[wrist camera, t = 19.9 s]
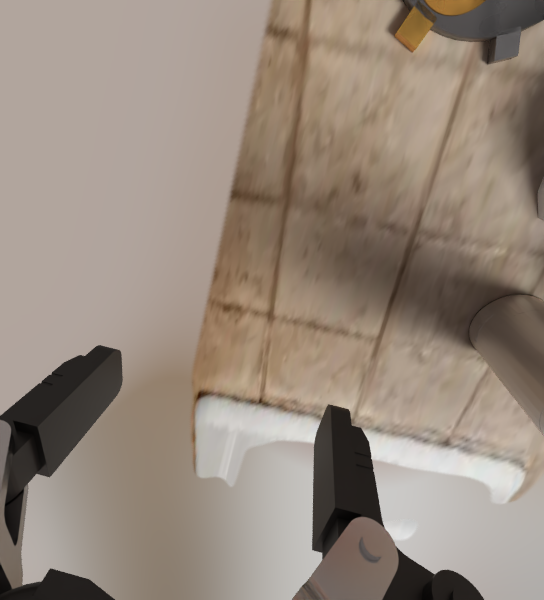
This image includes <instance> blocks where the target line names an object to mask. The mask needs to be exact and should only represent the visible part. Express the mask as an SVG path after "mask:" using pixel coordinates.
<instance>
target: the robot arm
mask: <svg viewBox="0 0 544 600" xmlns="http://www.w3.org/2000/svg"><path fill="white" fill-rule="evenodd" d="M469 337H470V340H471V343H472V344H473V346H474V347H475V348H476V350H477V351H478V352H479V354H480V355H481V356H482V357H483V359H484V360H485V361H486V363H487V364H488V365H489V367H490V368H491V369H492V371H493V372H494V373H495V374H496V376H497V377H498V378H499V380H500V381H501V382H502V383H503V385H504V386H505V387H506V389H507V390H508V391H509V392H510V394H511V395H512V396H513V397H514V399H515V400H516V401H517V403H518V404H519V405H520V406H521V408H522V409H523V410H524V412H525V413H526V414H527V415H528V417H529V418H530V419H531V420H532V422H533V423H534V424H535V426H536V427H537V428H538V429H539V431H540V432H541V433H542V435H543V436H544V301H543V300H541V299H539V298H537V297H534V296H530V295H511V296H506V297H503V298H500V299H497V300H495V301H493V302H491V303H490V304H488V305H486V306H485V307H484V308H483V309H481V310H480V311H479V312H478V313H477V315H476V316H475V317H474V319H473V321H472V323H471V325H470V330H469ZM121 385H122V358H121V352H120V350H117V349H113V348H109V347H105V346H101V345H99V346H96V347H95V348H94V349H93V350H92V351H90V352H89V353H88V354H87V355H86V356H82V355H79V356H77V357H75V358H73V359H71V360H68V361H66V362H64V363H63V364H62V365H61V366H60V367H58V368H57V369H56V370H55V371H53V372H52V375H49V376H47V377H46V378H45V379H44V380H43V381H42V383H41V384H40V383H39V384H38V385H37V386H35V387H34V388H33V389H32V390H31V391H30V392H28V393H27V394H26V395H25V396H24V397H22V398H21V399H20V400H19V401H18V402H16V403H15V404H14V405H13V406H12V407H10V408H9V409H8V410H7V411H6V412H4V413H3V414H2V415H1V416H0V600H115V599H113V598H112V597H111V596H110V595H108V594H107V593H106V592H105V591H103V590H102V589H101V588H99V587H98V586H97V585H96V584H94V583H93V582H92V581H91V580H89V579H86V578H82V577H79V576H75V575H72V574H68V573H65V572H61V571H58V570H54V569H50V570H49V571H48V573H47V574H46V576H45V578H44V579H43V581H42V582H36V583H31V584H26V585H23V586H22V581H23V579H22V577H23V571H22V559H21V550H22V539H23V531H24V521H25V513H26V503H27V495H28V483H29V482H30V480H31V479H32V478H33V477H34V476H35V475H36V474H40V475H43V476H47V477H50V476H51V475H52V474H53V473H54V472H55V470H56V469H57V468H58V467H59V466H60V464H61V463H62V462H63V461H64V459H65V458H66V457H67V456H68V455H69V453H70V452H71V451H72V450H73V448H74V447H75V446H76V445H77V444H78V442H79V441H80V440H81V439H82V438H83V436H84V435H85V434H86V433H87V431H88V430H89V429H90V428H91V427H92V425H93V424H94V423H95V422H96V420H97V419H98V418H99V417H100V416H101V414H102V413H103V412H104V411H105V410H106V408H107V407H108V406H109V404H110V403H111V402H112V401H113V399H114V398H115V397H116V396H117V394H118V393H119V391H120V388H121ZM313 481H314V482H313V539H312V550H314V551H318V552H322V555H323V557H322V559H323V560H322V562H321V563H320V564H319V566H318V567H317V568H316V570H315V571H314V573H313V574H312V576H311V577H310V578H309V579H308V581H307V582H306V583H305V584H304V585H303V586H302V587H301V588H300V590H299V591H298V592H297V593H296V595H295V596H294V597H293V599H292V600H484V599H483V597H482V596H481V594H480V593H479V591H478V590H477V589H476V588H475V587H474V586H473V585H472V584H471V583H470V582H469V581H468V580H467V579H466V578H464V577H463V576H462V575H460V574H458V573H456V572H454V571H450V570H441V571H439V572H438V573H436V574H433V573H431V572H430V571H428V570H427V569H425V568H424V567H422V566H421V565H419V564H417V563H416V562H414V561H413V560H411V559H410V558H408V557H407V556H406V555H404V554H403V553H402V552H401V551H400V550H399V549H398V548H397V547H396V546H395V543H394V541H393V539H392V538H391V536H390V534H389V533H388V532H387V531H386V529H385V528H384V525H383V522H382V517H381V512H380V505H379V499H378V493H377V487H376V481H375V475H374V472H373V464H372V459H371V452H370V446H369V441H368V440H367V438H366V436H365V434H364V432H363V431H362V429H361V428H359V427H355V426H352V425H351V417H350V411H349V409H345V408H341V407H337V406H333V405H330V404H329V405H328V406H327V408H326V410H325V413H324V415H323V418H322V420H321V423H320V425H319V428H318V430H317V433H316V438H315V444H314V479H313Z"/></svg>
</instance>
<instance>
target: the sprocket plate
mask: <svg viewBox="0 0 544 600" xmlns="http://www.w3.org/2000/svg"><path fill="white" fill-rule="evenodd" d="M403 1H404V3H405V4H406V6H407V7H408V9H409V10H410V13H409V15H408V16H407V18H406V19H405V21H404V22H403V24H402V25H401V27H400V28H399V30H398V31H397V33H396V34H395V37H396V38H397V39H398V40H399V41H400V42H401V43H403V44H404V45H405V46H406V47H407V48H408V49H409V50H410V51H411V52H413V51H414V50H415V49H416V48H417V47H418V45H419V44H420V43H421V41H422V40H423V38H424V37H425V36H426V34H427V33H428V31H429V30H432V31H434V32H436V33H438V34H440V35H442V36H444V37H448V38H451V39H454V40H459V41H468V42H480V41H490V43H489V55H488V64H492V63H496V62H500V61H505V60H509V59H512V58H514V57H516V56H518V51H519V43H520V35H521V31H523V30H525V29H527V28H529V27H531V26H534V25H535V24H537V23H539V22H541V21H542V20H544V0H403Z"/></svg>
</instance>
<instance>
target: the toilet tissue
mask: <svg viewBox="0 0 544 600" xmlns="http://www.w3.org/2000/svg"><path fill="white" fill-rule="evenodd" d="M538 218H540V219H542V220H544V177H543V180H542V182H541V185H540V188H539V190H538Z"/></svg>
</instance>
